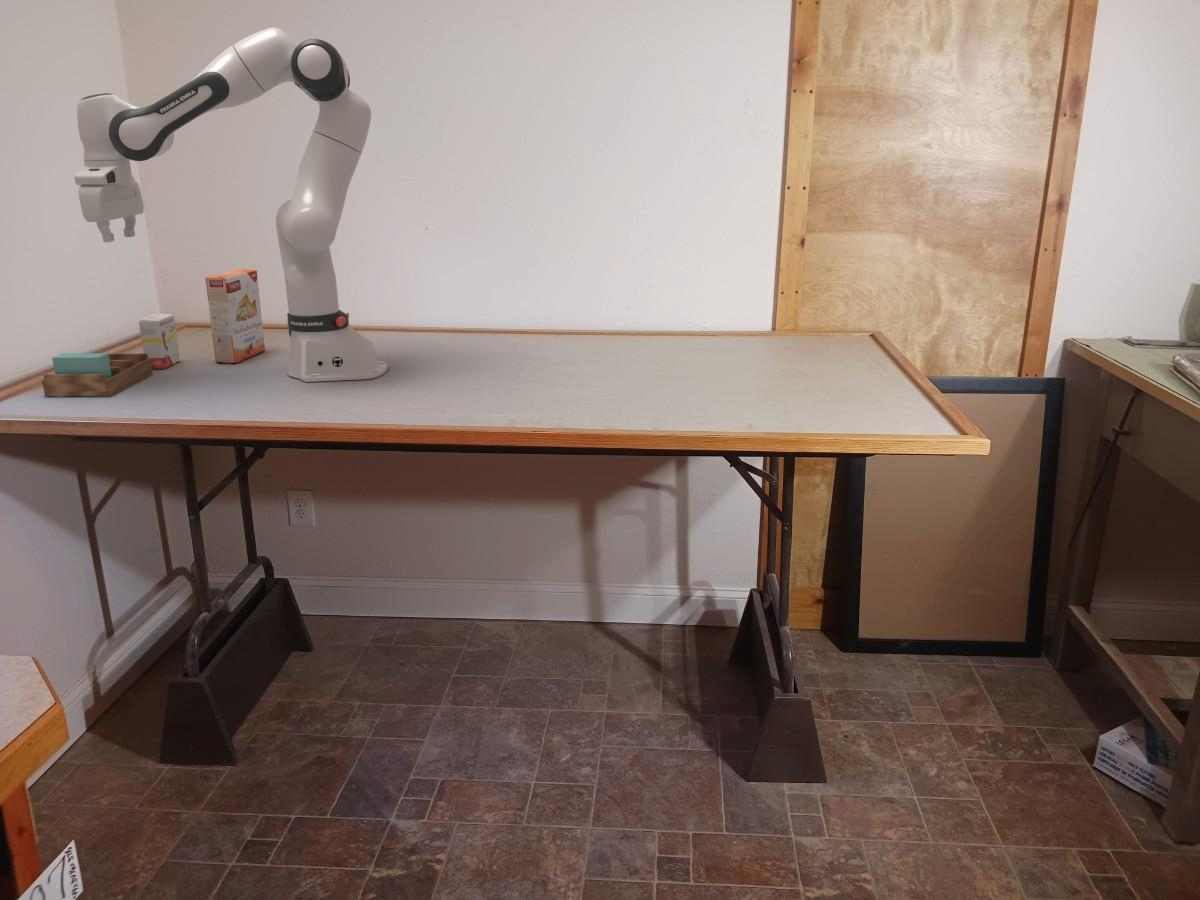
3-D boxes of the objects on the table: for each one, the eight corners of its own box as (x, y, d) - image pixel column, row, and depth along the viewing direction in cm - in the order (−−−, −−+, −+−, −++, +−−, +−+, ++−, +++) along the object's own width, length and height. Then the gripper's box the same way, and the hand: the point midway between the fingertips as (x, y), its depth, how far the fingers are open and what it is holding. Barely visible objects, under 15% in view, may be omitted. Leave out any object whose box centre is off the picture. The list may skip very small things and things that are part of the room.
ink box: (165, 369, 230) (157, 320, 226) (144, 369, 230) (136, 320, 226) (181, 361, 238) (174, 313, 234) (162, 361, 238) (154, 313, 234)
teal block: (68, 384, 213) (62, 353, 210) (113, 384, 213) (108, 353, 210) (58, 389, 209) (52, 357, 207) (104, 389, 209) (98, 357, 206)
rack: (152, 373, 226) (149, 353, 225) (110, 396, 208) (106, 374, 206) (92, 373, 227) (88, 353, 225) (45, 396, 208) (40, 375, 206)
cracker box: (237, 364, 234) (226, 277, 227) (214, 363, 235) (202, 276, 229) (267, 351, 247) (257, 268, 240) (245, 350, 248) (235, 268, 242)
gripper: (118, 171, 219) (128, 234, 223) (69, 176, 200) (81, 245, 204) (145, 171, 219) (155, 233, 223) (99, 176, 199) (111, 245, 204)
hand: (119, 239), depth 214 cm, fingers open, 8 cm apart
